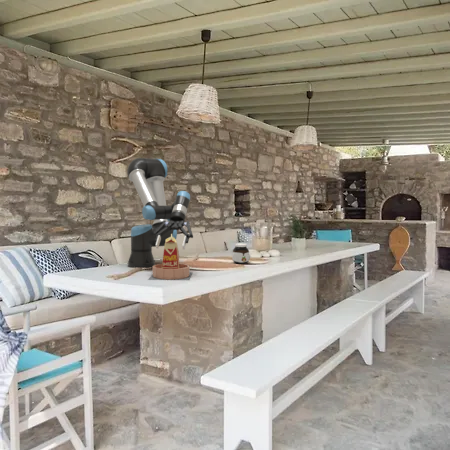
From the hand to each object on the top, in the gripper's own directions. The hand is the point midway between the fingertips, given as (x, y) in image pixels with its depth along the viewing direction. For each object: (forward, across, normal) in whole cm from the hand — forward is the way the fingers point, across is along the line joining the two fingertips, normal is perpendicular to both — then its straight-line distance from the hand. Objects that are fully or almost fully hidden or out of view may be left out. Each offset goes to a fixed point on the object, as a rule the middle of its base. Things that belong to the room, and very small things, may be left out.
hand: (169, 247), depth 217 cm
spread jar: (-29, -28, -50) cm, 65 cm away
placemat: (+9, 0, -12) cm, 15 cm away
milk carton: (+8, 0, -12) cm, 14 cm away
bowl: (+9, 0, -12) cm, 15 cm away
